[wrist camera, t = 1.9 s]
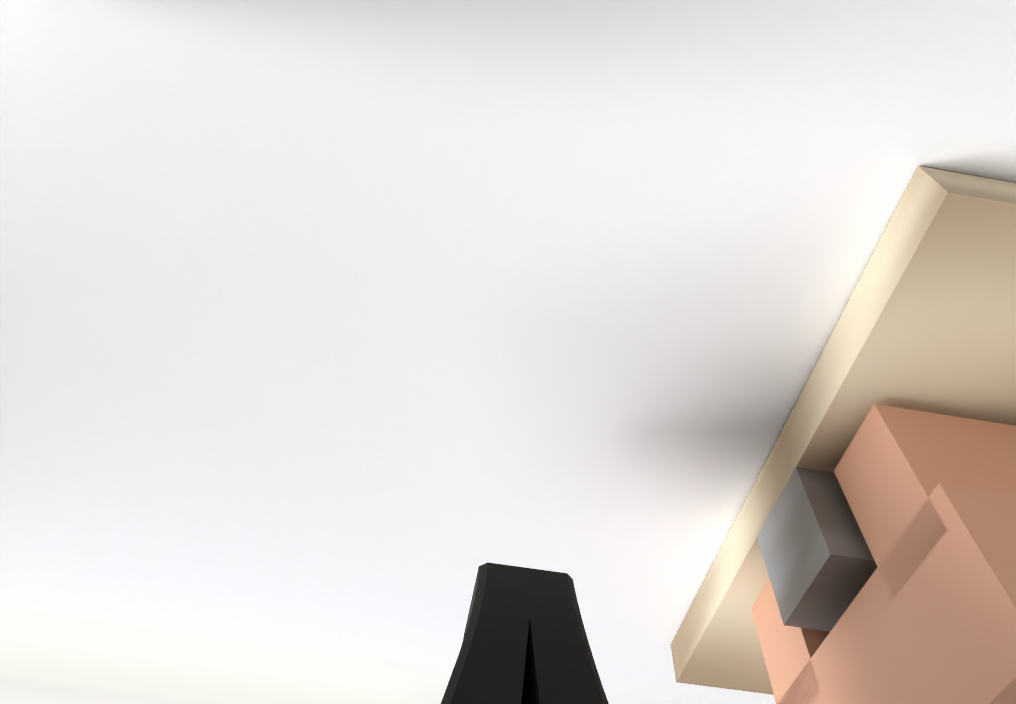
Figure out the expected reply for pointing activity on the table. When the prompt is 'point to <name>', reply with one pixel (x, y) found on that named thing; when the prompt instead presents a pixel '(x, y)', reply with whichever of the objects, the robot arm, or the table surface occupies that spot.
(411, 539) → the table surface
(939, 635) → the block
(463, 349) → the table surface
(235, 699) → the table surface
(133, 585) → the table surface
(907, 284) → the rail board
